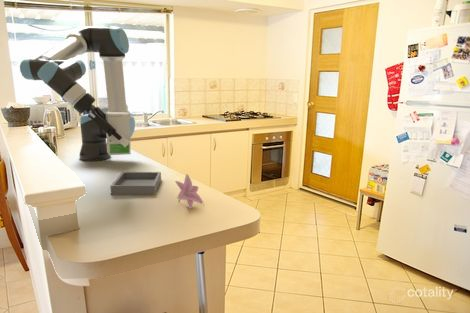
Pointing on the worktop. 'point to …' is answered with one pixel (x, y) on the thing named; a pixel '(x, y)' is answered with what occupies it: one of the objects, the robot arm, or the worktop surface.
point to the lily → (188, 192)
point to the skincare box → (121, 124)
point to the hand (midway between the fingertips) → (128, 142)
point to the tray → (136, 183)
